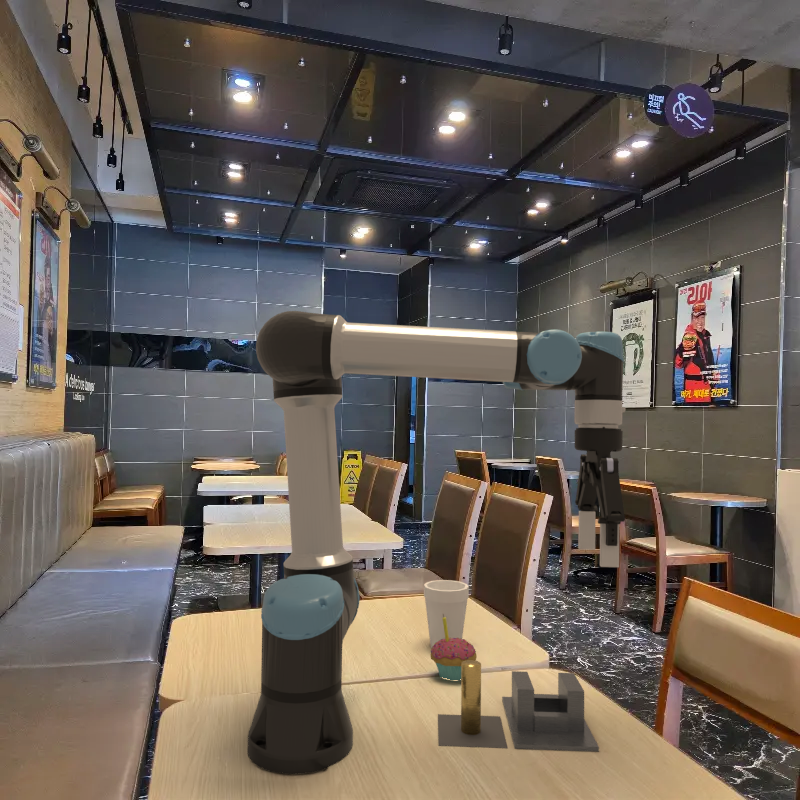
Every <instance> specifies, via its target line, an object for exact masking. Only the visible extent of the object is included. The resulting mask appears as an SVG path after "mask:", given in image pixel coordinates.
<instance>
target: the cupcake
mask: <svg viewBox="0 0 800 800" xmlns="http://www.w3.org/2000/svg"><path fill="white" fill-rule="evenodd" d="M443 625H444V632H445V639H441V640H439V641H438V642H436V643H435V645H434V646H433V647H431V646H430V659H431V660H432V661H433V662H434V663H435V664H436V665H435V666H436V668H437V671H438V675H439V678H440V677H443V678H447V679H450V680H460V679H461V664H462V662H463V661H466V660H474V661H477V653H476V652H477V651H476V649H475V647H474V645H473V644H472V643H470V642H469V641H467V640H466V639H464V638H462V639H460V638H451V637H450V638H449V636H448V629H447V622H446V617H444V614H443Z"/></svg>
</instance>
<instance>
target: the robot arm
mask: <svg viewBox="0 0 800 800" xmlns="http://www.w3.org/2000/svg"><path fill="white" fill-rule="evenodd" d="M255 343H256V344H255V350H256V353H255V354H256V357H257V361H258V362H259V364H260V367H261V368H262V370H263V371H264V372H265V373H266V374H267V376H269V377H270V378H272V388H273V389H272V391H273V402H274V403H276V404H277V405H278V407H280V408H281V409H282V411H283V421H284V422H283V424H284V437H285V438H284V439H285V454H286V455H285V456H286V458H285V459H286V470H287V471H286V473H287V491H288V504H289V505H288V507H289V523H290V541H291V552H290V555H289V556H288V557H287V558H286V559H285V560H284V562H283V576H284V577H283V578H281V579H278V580H277V581H275V582H272V584H271V585H269V586H268V587H267V589H266V590H265V592H264V595H263V600H262V606H261V609H260V610H261V611H260V613H261V616H260V617H261V618H260V619H261V624H262V626H261V671H260V672H261V673H260V674H261V675H260V676H261V677H260V681H261V683H260V684H261V686H260V696H259V700H258V702H257V705H256V709H255V711H254V714H253V717H252V721H251V723H250V724H251V725H250V727H249V729H248V733H247V747H246V750H247V751H246V752H247V756H248V759H249V761H251V762H252V763H253V764H254V765H256V766H257V767H258V768H260V769H262V770H265V771H267V772H268V771H269V772H272V773H277V774H282V775H284V774H285V775H303V774H311V773H315V772H320V771H325V770H327V769H328V768H329V767H331V766H334V765H335V764H338V763H339V762H340V761H342V760H343V759H345V758H346V757H347V756H348V755H349V754H350V753H351V751H352V749H353V745H354V729H353V724H352V721H351V717H350V715H349V710H348V707H347V704H346V701H345V697H344V694H343V689H342V684H343V681H342V680H343V678H342V677H343V676H342V675H343V674H342V673H343V641H344V640H345V637H346V635H347V633H348V630H349V628H350V626H351V625H352V624H353V622H354V620H355V619H356V617H357V614H358V610H359V606H360V598H361V597H360V591H359V586H358V582H357V581H356V577H355V573H354V572H355V571H354V560H353V559H354V558H353V555H352V554H351V553H349V551H347V550H346V549H345V547H344V545H343V544H344V543H343V527H342V524H343V523H342V509H341V508H342V507H341V497H340V496H341V495H340V494H341V493H340V478H339V476H340V475H339V463H338V447H337V445H338V444H337V431H336V430H337V429H336V414H335V407H336V405H337V404H338V403H339V402H340V400H341V399H342V398H343V385H342V384H343V383H342V382H343V381H342V376H343V375H344V374H351V375H352V374H355V375H370V376H371V375H372V376H374V375H375V376H388V377H391V376H392V377H408V378H410V377H411V378H427V379H428V378H429V379H446V380H463V381H464V380H465V381H466V380H467V381H479V382H480V381H481V382H482V381H485V382H497V383H498V382H501V383H502V384H503V386H504V388H505V389H507V390H508V389H509V390H510V389H511V390H520V391H521V392H523V391H528V390H532V391H547V390H548V391H556V390H557V391H560V390H561V391H574V395H575V396H574V424H575V425H577V427H576V428H575V430H574V448H575V450H577V451H585V452H586V454H580V456H579V459H580V462H579V463H580V464H579V473H578V479H577V488H576V494H575V495H576V496H575V501H574V503H575V505H576V506H577V509H578V538H577V539H578V542H577V544H578V547H577V548H578V549H579V550H589V551H590V550H594V551H595V550H596V511H598V506H597V504H596V501H597V499H598V505H599V509H600V514H601V515H600V516H601V517H599V518H598V520H597V523H598V524H599V567H601V568H620V525H621V523H624V522H625V520H626V517H625V509H624V503H623V496H622V489H621V488H622V487H621V480H620V474H619V473H620V470H619V459H618V458H617V457H616V458H615V457H614V458H613V457H612V455H611V452H615V453H617V452H621V451H622V450H623V444H624V443H623V433H624V432H623V430H622V428H619V426H621V425H623V413H624V414H625V413H626V409H627V408H626V407H624V406H623V384H624V383H623V382H624V380H623V379H624V363H625V359H624V349H623V348H624V346H623V339H622V337H621V336H620V335H619V334H618V333H616V332H613V331H586V332H582V333H581V332H580V333H579V334H577V335H576V336H575V337H574V335H572V334H571V333H569V332H567V331H565V330H562V329H556V328H555V329H554V328H553V329H546V330H543V331H541V332H535V331H533V332H531V331H528V332H527V331H515V330H513V331H512V330H496V329H479V328H478V329H473V328H457V327H438V326H437V327H436V326H420V325H417V326H416V325H403V324H401V325H400V324H385V323H383V324H382V323H364V322H363V323H362V322H347V321H346V319H344V317H342V315H340V314H326V313H325V314H324V313H316V312H315V313H314V312H306V311H299V310H287V311H283V312H280V313H278V314H276V315H274V316H272V317H270V318H269V319H268V320H267V321H266V322H265V323H264V324H263V326H262V327H261V328H260V330H259V332H258V335H257V338H256V342H255Z"/></svg>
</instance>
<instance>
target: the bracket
mask: <svg viewBox="0 0 800 800" xmlns="http://www.w3.org/2000/svg"><path fill="white" fill-rule="evenodd" d="M557 676H558V677H557V680H558V681H557V683H558V684H557V686H558V687H557V689H558V690H557V693H558V694H553V693H552V694H550V693H549V694H547V693H535V688H534V686H533V682H532V681H531V679H530V675H529V673H528V671H516V670H515V671H511V696H502V697H501V698H502V699H501V700H502V705H503V709H504V712H505V717H506V721H507V725H508V727H509V733H510V735H511V740H512V742H513V743H512V744H513V748H514V749H515V750H538V751H539V750H540V751H563V752H564V751H566V752H567V751H569V752H591V753H593V752H595V753H599V752H600V747H599V745H598V743H597V740H596V738H595V737H594V735H593V733H592V730H590V727H589V726H588V724H587V722H586V720H585V690H584V688H583V687H582V685H581V683H580V682H579V679H578V678H577V676H576V674H575V673H574V672H558V675H557Z"/></svg>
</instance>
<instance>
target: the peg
mask: <svg viewBox="0 0 800 800" xmlns="http://www.w3.org/2000/svg"><path fill="white" fill-rule="evenodd" d="M460 683H461V684H460V685H461V687H460V690H461V693H460V694H461V695H460V705H461V706H460V709H461V710H460V715H461V731H462V732H463V733H465V734H467V735H477V734H479V733H480V732H481V716H482V663H481V662H480V661H478V660H476V661H474V660H466V661H463V662H462V664H461V681H460Z"/></svg>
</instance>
